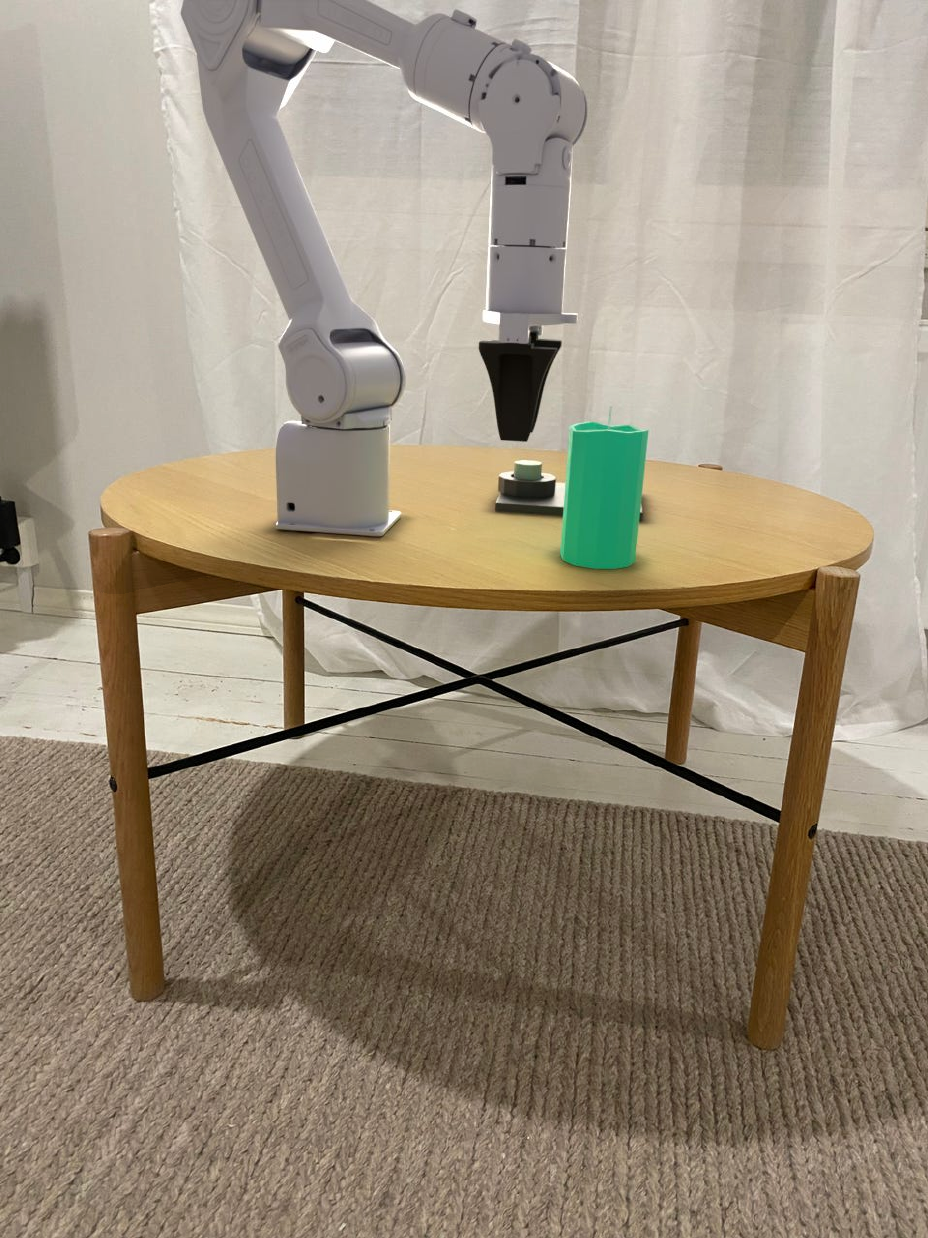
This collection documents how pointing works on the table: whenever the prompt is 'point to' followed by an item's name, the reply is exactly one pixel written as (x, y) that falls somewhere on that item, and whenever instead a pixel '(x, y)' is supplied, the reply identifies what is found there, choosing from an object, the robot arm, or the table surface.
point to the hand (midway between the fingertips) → (517, 435)
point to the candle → (603, 494)
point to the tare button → (527, 469)
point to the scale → (532, 495)
